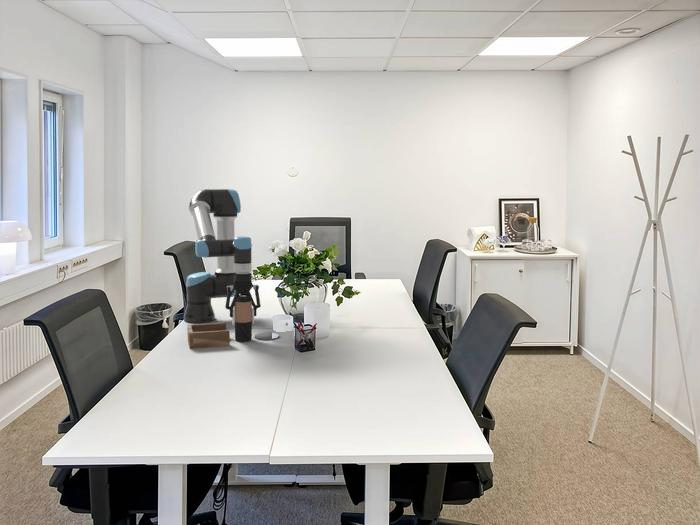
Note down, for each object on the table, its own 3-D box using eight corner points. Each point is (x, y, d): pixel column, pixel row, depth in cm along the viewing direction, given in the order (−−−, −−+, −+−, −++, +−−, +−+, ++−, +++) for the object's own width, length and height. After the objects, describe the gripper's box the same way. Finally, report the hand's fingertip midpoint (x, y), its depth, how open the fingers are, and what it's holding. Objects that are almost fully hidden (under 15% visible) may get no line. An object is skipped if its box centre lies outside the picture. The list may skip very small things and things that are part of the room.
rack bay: (187, 339, 259) (187, 324, 258) (225, 336, 265) (225, 322, 264) (189, 348, 245) (189, 333, 244) (229, 345, 250) (229, 330, 250)
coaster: (252, 334, 268) (252, 332, 268) (276, 333, 272) (276, 331, 272) (256, 341, 258) (256, 339, 258) (281, 339, 261) (281, 337, 261)
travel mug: (250, 342, 256) (250, 297, 253) (232, 342, 256) (232, 296, 253) (253, 337, 263) (253, 293, 260) (236, 337, 263) (236, 293, 261)
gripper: (219, 274, 249) (220, 327, 252) (267, 273, 255) (268, 324, 258) (217, 271, 256) (218, 323, 259) (264, 270, 262) (265, 320, 265)
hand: (243, 323), depth 259 cm, fingers closed on travel mug, 8 cm apart
